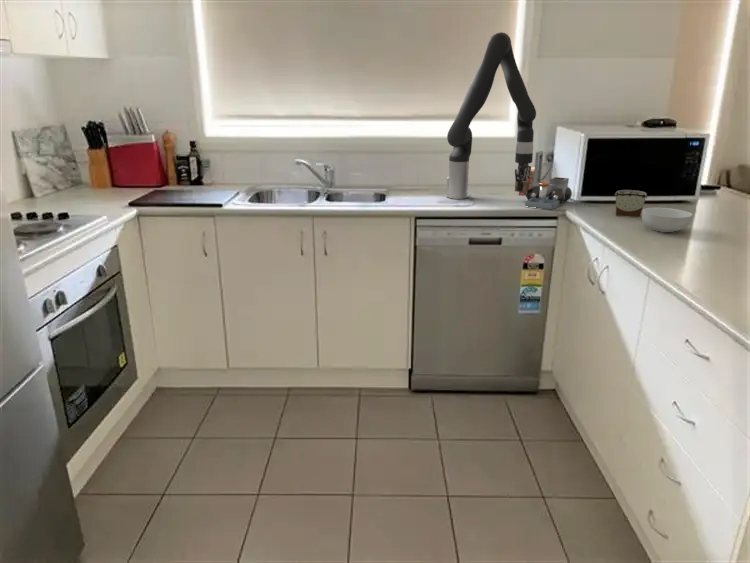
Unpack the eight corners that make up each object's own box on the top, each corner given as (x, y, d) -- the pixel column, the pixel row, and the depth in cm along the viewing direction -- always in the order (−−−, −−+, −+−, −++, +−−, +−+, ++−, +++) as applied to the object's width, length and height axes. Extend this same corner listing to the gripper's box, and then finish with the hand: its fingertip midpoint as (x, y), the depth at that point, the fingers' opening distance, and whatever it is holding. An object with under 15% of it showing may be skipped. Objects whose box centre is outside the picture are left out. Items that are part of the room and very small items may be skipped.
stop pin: (535, 205, 255) (537, 183, 252) (539, 203, 258) (541, 181, 255) (544, 206, 253) (546, 183, 250) (547, 205, 256) (550, 182, 253)
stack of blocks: (524, 187, 299) (526, 163, 295) (537, 188, 297) (539, 164, 293) (518, 195, 280) (520, 169, 276) (531, 196, 278) (533, 170, 274)
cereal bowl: (686, 238, 205) (690, 219, 203) (636, 232, 214) (639, 213, 211) (691, 228, 219) (694, 209, 217) (643, 222, 227) (646, 205, 225)
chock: (514, 191, 265) (515, 181, 264) (518, 189, 268) (518, 180, 267) (525, 192, 262) (525, 182, 261) (528, 190, 265) (529, 181, 264)
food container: (643, 214, 240) (646, 190, 237) (644, 217, 235) (647, 193, 231) (611, 212, 244) (614, 189, 241) (611, 215, 239) (614, 191, 235)
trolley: (525, 202, 265) (529, 153, 257) (534, 197, 274) (538, 150, 267) (562, 206, 255) (567, 155, 248) (571, 201, 265) (576, 152, 257)
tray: (525, 207, 256) (525, 201, 255) (532, 203, 263) (533, 197, 262) (552, 210, 249) (552, 204, 248) (559, 206, 256) (559, 200, 255)
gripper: (526, 154, 252) (523, 193, 258) (538, 150, 263) (535, 188, 269) (510, 153, 256) (507, 191, 262) (522, 149, 267) (519, 186, 273)
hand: (521, 189), depth 265 cm, fingers closed on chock, 4 cm apart
